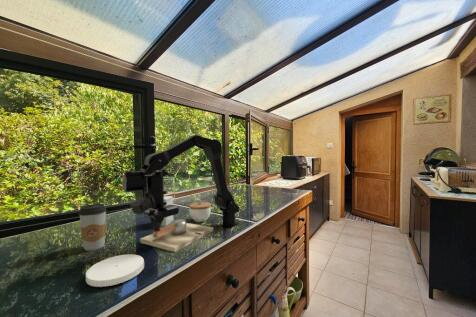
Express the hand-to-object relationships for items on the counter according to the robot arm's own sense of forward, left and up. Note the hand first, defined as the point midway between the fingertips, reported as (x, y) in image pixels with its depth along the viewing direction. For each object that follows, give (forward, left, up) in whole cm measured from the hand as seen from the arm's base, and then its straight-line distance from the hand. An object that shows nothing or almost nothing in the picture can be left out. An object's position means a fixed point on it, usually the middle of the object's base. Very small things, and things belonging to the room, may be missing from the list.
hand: (156, 231), depth 78 cm
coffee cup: (+11, -20, -5) cm, 23 cm away
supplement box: (-19, -18, -5) cm, 26 cm away
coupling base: (-10, +1, -5) cm, 11 cm away
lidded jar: (-31, -5, -5) cm, 32 cm away
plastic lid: (+18, +5, -6) cm, 20 cm away
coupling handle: (-5, +1, -3) cm, 6 cm away
